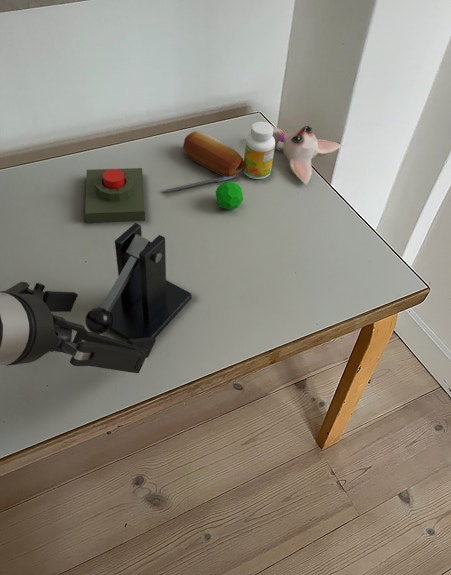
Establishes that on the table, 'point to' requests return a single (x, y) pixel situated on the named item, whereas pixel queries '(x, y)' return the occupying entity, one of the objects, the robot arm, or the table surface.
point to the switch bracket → (145, 291)
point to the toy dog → (303, 150)
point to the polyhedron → (229, 195)
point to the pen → (201, 183)
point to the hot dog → (213, 154)
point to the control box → (114, 197)
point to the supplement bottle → (259, 151)
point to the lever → (115, 290)
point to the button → (113, 179)
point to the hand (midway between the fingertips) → (110, 324)
